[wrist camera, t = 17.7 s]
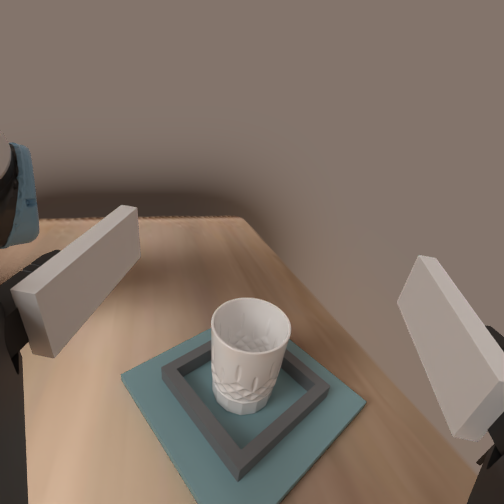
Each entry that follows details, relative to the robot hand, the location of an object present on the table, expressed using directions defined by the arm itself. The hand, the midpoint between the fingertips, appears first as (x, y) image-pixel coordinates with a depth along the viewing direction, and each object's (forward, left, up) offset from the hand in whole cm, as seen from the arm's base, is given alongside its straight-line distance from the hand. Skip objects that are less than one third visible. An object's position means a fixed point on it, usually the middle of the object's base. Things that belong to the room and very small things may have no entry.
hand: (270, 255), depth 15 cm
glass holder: (-7, +8, -25) cm, 27 cm away
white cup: (-7, +7, -24) cm, 26 cm away
